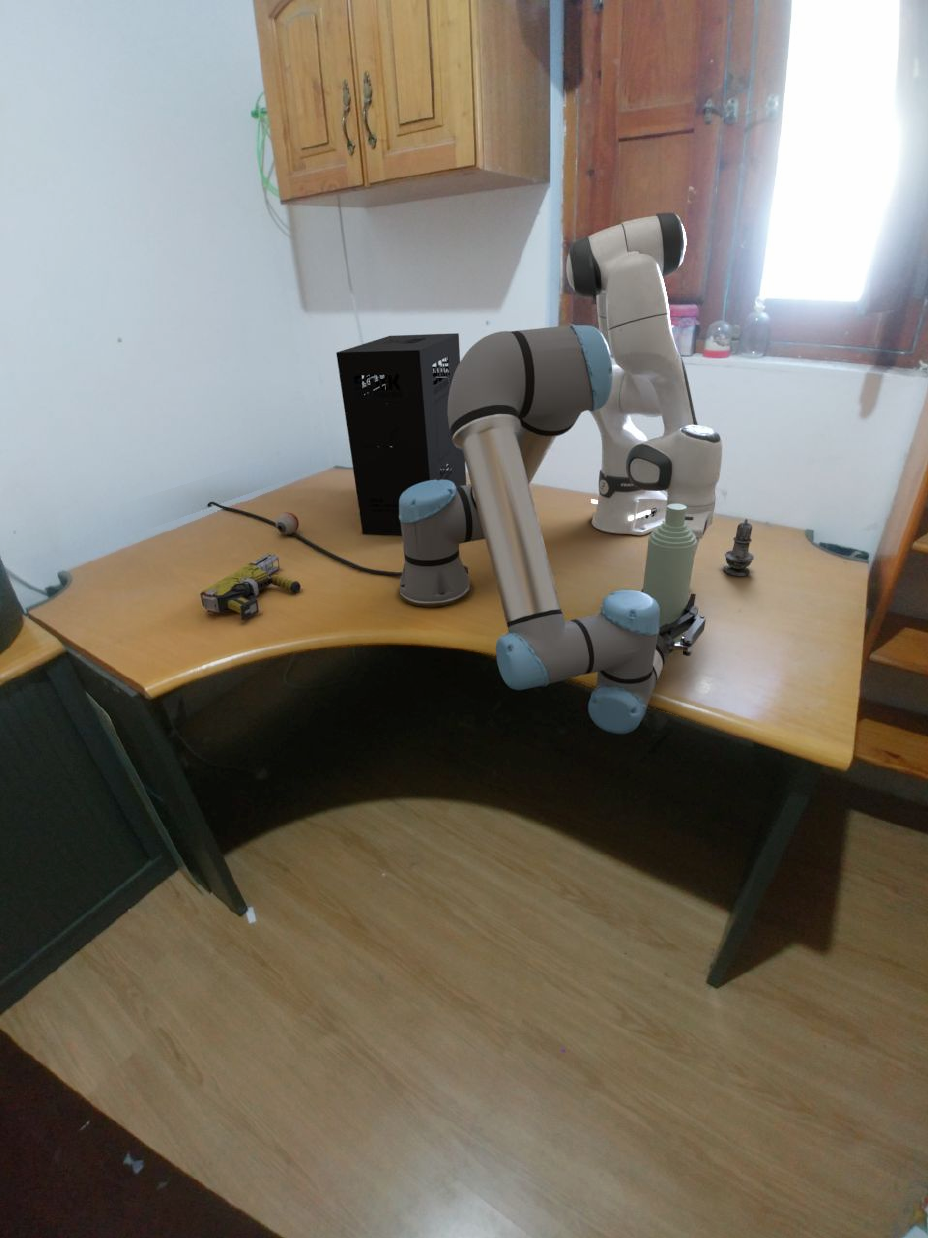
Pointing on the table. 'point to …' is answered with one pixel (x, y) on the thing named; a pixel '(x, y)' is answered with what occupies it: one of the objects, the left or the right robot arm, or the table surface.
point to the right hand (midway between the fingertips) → (680, 576)
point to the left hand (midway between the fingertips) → (668, 596)
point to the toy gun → (245, 588)
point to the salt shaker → (740, 551)
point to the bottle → (670, 565)
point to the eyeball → (287, 523)
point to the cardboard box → (399, 421)
